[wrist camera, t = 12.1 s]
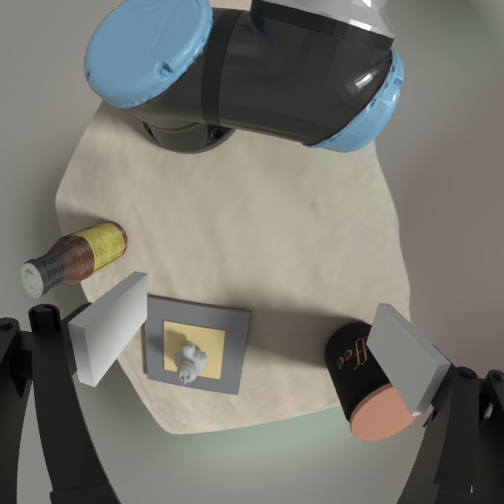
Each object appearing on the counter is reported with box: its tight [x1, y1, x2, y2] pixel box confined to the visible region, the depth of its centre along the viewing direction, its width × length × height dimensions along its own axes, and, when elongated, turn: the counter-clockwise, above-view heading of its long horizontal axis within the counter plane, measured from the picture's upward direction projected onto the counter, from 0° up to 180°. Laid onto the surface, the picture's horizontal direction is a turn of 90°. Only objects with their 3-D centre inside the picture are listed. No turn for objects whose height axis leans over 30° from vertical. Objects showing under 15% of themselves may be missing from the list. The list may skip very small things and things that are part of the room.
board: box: [145, 295, 250, 395], centre depth 44 cm, size 17×17×1 cm
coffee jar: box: [324, 323, 417, 441], centre depth 36 cm, size 11×11×18 cm
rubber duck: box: [173, 341, 207, 385], centre depth 40 cm, size 5×7×8 cm
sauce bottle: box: [20, 222, 127, 298], centre depth 32 cm, size 6×6×20 cm
